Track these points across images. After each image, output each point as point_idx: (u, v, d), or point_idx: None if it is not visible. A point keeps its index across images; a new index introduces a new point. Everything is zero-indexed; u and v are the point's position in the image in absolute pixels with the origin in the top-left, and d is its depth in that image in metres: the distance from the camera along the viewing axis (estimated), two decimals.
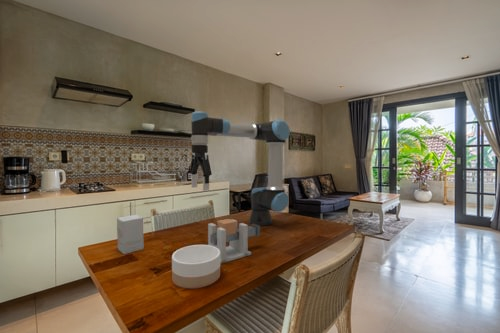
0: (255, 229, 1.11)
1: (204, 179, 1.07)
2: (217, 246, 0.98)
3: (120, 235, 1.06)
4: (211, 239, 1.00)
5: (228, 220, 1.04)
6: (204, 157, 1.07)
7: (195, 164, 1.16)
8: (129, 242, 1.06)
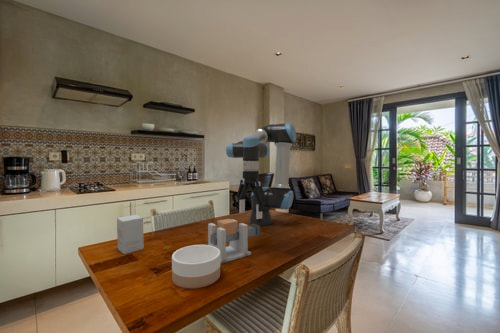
0: (255, 229, 1.11)
1: (258, 207, 1.04)
2: (217, 246, 0.98)
3: (120, 235, 1.06)
4: (211, 239, 1.00)
5: (228, 220, 1.04)
6: (258, 184, 1.04)
7: (245, 190, 1.13)
8: (129, 242, 1.06)
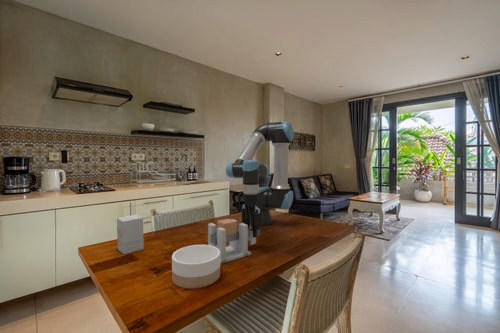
0: None
1: (252, 233, 1.09)
2: (217, 246, 0.98)
3: (120, 235, 1.06)
4: (211, 239, 1.00)
5: (228, 220, 1.04)
6: (257, 212, 1.06)
7: (247, 214, 1.12)
8: (129, 242, 1.06)
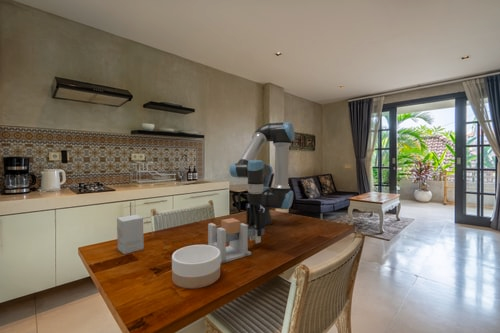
0: None
1: (256, 232, 1.10)
2: (217, 246, 0.98)
3: (120, 235, 1.06)
4: None
5: (232, 220, 1.05)
6: (262, 211, 1.07)
7: (252, 213, 1.13)
8: (129, 242, 1.06)
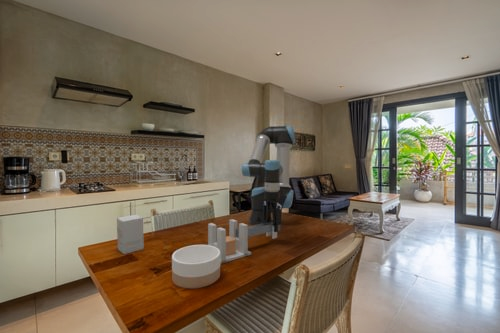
0: None
1: (273, 228, 1.17)
2: (217, 246, 0.98)
3: (120, 235, 1.06)
4: (237, 233, 1.08)
5: None
6: (279, 208, 1.14)
7: (268, 210, 1.20)
8: (129, 242, 1.06)
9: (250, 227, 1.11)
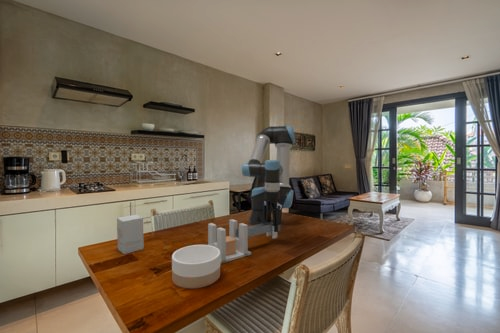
0: None
1: (273, 228, 1.17)
2: (217, 246, 0.98)
3: (120, 235, 1.06)
4: (237, 233, 1.08)
5: None
6: (279, 208, 1.14)
7: (268, 210, 1.20)
8: (129, 242, 1.06)
9: (250, 227, 1.11)
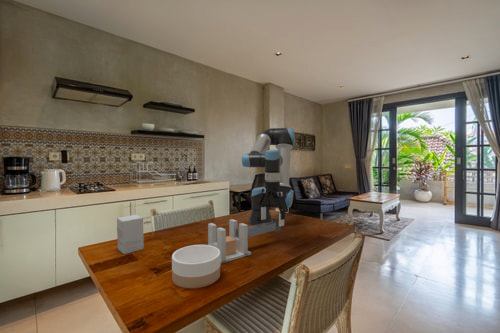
0: (276, 224, 1.19)
1: (280, 215, 1.13)
2: (217, 246, 0.98)
3: (120, 235, 1.06)
4: (237, 233, 1.08)
5: None
6: (280, 194, 1.13)
7: (266, 198, 1.21)
8: (129, 242, 1.06)
9: (250, 227, 1.11)
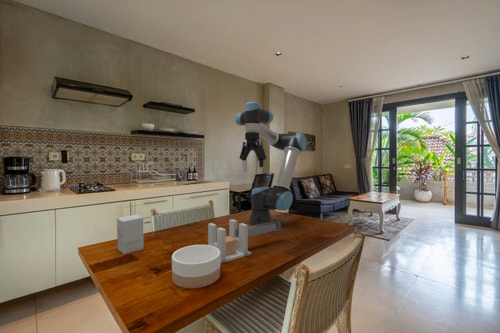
0: (276, 224, 1.19)
1: (259, 163, 1.18)
2: (217, 246, 0.98)
3: (120, 235, 1.06)
4: (237, 233, 1.08)
5: None
6: (259, 143, 1.18)
7: (247, 150, 1.26)
8: (129, 242, 1.06)
9: (250, 227, 1.11)
